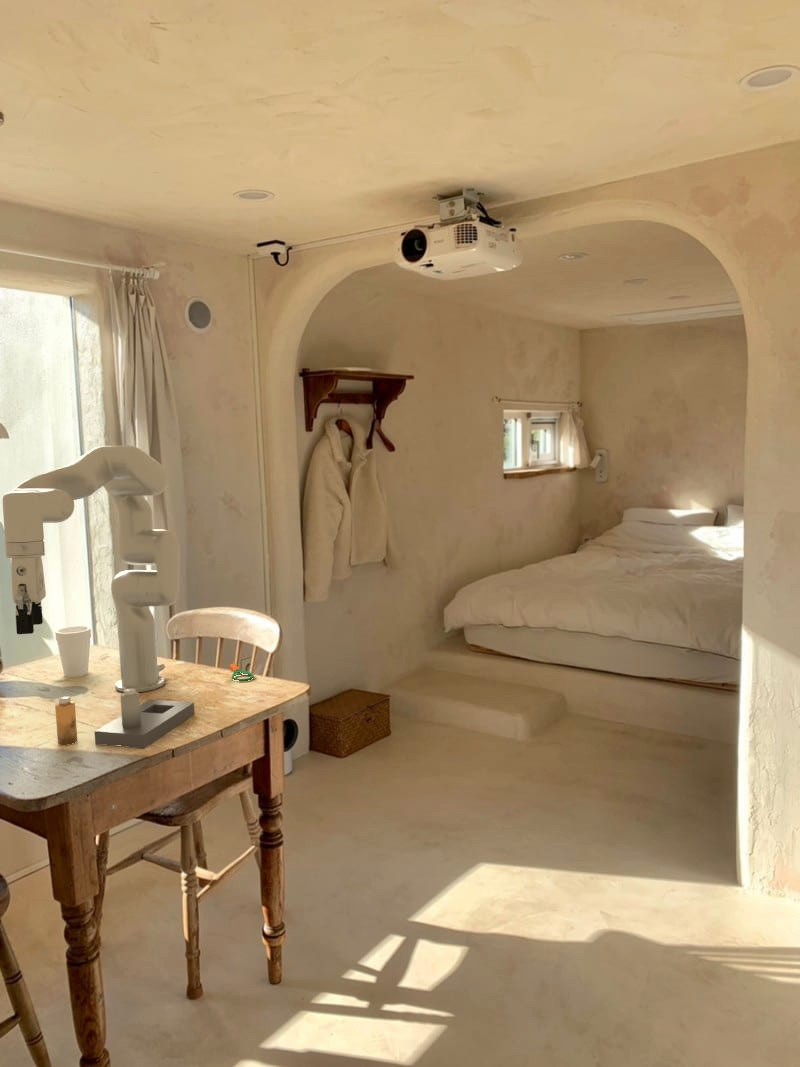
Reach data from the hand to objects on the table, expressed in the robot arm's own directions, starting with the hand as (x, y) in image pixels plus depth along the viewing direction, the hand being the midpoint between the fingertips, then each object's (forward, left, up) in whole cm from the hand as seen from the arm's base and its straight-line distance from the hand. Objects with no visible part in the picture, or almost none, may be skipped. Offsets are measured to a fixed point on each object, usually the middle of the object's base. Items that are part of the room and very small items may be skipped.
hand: (30, 628), depth 174 cm
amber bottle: (-4, +4, -26) cm, 27 cm away
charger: (-15, +17, -26) cm, 35 cm away
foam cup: (-51, -28, -27) cm, 64 cm away
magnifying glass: (-59, +19, -27) cm, 68 cm away
